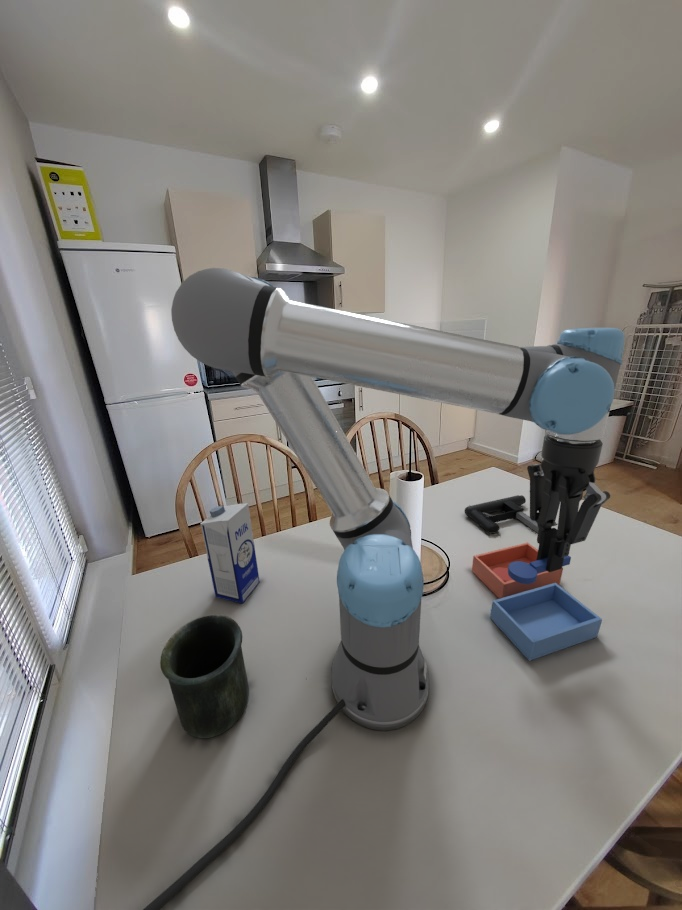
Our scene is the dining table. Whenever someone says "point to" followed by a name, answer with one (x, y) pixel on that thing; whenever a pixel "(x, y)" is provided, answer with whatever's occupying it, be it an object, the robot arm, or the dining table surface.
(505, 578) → the red spoon
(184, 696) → the dark green pot
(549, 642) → the blue bin
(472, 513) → the door handle
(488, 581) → the red bin
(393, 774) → the dining table surface
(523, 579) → the blue spoon
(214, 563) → the milk carton
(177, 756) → the dining table surface
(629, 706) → the dining table surface
